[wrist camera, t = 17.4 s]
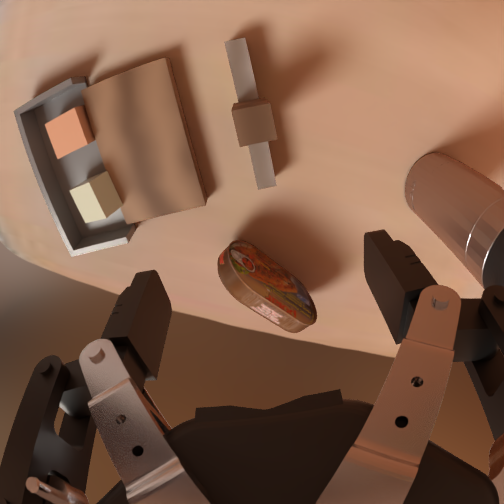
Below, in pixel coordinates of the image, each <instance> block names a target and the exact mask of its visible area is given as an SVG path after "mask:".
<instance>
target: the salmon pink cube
mask: <svg viewBox="0 0 504 504" xmlns="http://www.w3.org/2000/svg"><path fill="white" fill-rule="evenodd" d="M45 127H46V130H47V132H48V135H49V138H50V140H51V143H52V146H53V148H54V151H55V154H56V156H57V159H59V158H61V157H63V156H65V155H67V154H69V153H71V152H73V151H75V150H77V149H79V148H81V147H83V146H85V145H88V144H89V143H91V142H93V141H95V140H96V139H95V136H94V133H93V130H92V127H91V124H90V120H89V117H88V114H87V110H86V107H85V105H82V106H78V107H75V108H73V109H71V110H69V111H67V112H65V113H64V114H62V115H60V116H58V117H57V118H55V119H53V120H51V121H50V122H48V123H46V124H45Z"/></svg>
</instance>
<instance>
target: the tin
mask: <svg viewBox="0 0 504 504" xmlns="http://www.w3.org/2000/svg"><path fill="white" fill-rule="evenodd" d="M218 274H219V277H220V279H221V281H222V283H223V285H224V286H225V288H226V289H227V290H228V291H229V293H230V294H231V295H232V296H233V297H234V298H235V299H236V300H238V301H239V302H241V303H242V304H244V305H245V306H247V307H248V308H250V309H251V310H253V311H254V312H256V313H258V314H259V315H261V316H263V317H264V318H266V319H267V320H269V321H271V322H272V323H274V324H275V325H277V326H279V327H280V328H282V329H284V330H286V331H288V332H291V333H297V332H300V331H302V330H304V329H305V328H307V327H308V326H310V325H312V324H314V323H315V322H316V319H317V311H316V308H315V305H314V302H313V300H312V298H311V296H310V295H309V293H308V291H307V290H306V288H305V287H304V286H303V285H302V284H301V282H300V281H299V280H297V279H296V278H295V277H294V276H293V275H291V274H290V273H289V272H288V271H286V270H285V269H283V268H282V267H281V266H280V265H278V264H277V263H276V262H274V261H273V260H272V259H270V258H269V257H268V256H266V255H265V254H264V253H262V252H261V251H260V250H258V249H257V248H256V247H254V246H253V245H251V244H249V243H247V242H245V241H241V240H235V241H233V242H231V243H230V245H229V246H228V247H227V248H226V249H225V250H224V251H223V252H222V253H221V255H220V256H219V258H218Z"/></svg>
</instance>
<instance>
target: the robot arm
mask: <svg viewBox="0 0 504 504" xmlns="http://www.w3.org/2000/svg"><path fill="white" fill-rule="evenodd" d="M405 196H406V200H407V203H408V205H409V207H410V208H411V209H412V210H413V212H414V213H415V214H416V215H417V216H418V217H419V218H420V219H421V220H422V221H423V222H424V223H425V224H426V225H427V226H428V227H429V228H430V229H431V230H432V231H433V232H434V233H435V234H436V235H437V236H438V237H439V238H440V239H441V240H442V241H443V242H444V244H445V245H446V246H447V247H448V248H449V249H450V250H451V251H452V252H453V253H454V254H455V256H456V257H457V258H458V259H459V260H460V261H461V262H462V263H463V265H464V266H465V267H466V268H467V269H468V270H469V272H470V273H471V274H472V275H473V276H474V277H475V278H476V280H477V281H478V282H479V283H480V284H481V286H482V287H483V288H484V289H485V290H484V291H483V294H482V298H481V299H463V298H460V296H459V295H458V294H457V292H456V291H454V290H453V289H451V288H449V287H447V286H443V285H438V284H437V282H436V281H435V279H434V278H433V277H432V275H431V274H430V273H429V271H428V270H427V269H426V267H425V266H424V265H423V263H421V261H420V259H419V258H418V257H417V256H416V254H415V253H414V252H413V250H412V249H411V248H410V246H408V245H406V244H405V243H403V242H401V241H400V240H396V241H393V240H392V239H391V237H390V236H389V235H388V233H387V232H386V231H385V230H378V231H372V232H367V233H365V235H364V273H365V278H366V281H367V283H368V285H369V288H370V290H371V292H372V294H373V296H374V298H375V300H376V302H377V304H378V306H379V308H380V310H381V312H382V315H383V317H384V319H385V321H386V323H387V325H388V328H389V330H390V332H391V334H392V336H393V339H394V341H395V343H396V344H400V343H401V345H400V348H399V350H398V353H397V355H396V358H395V360H394V363H393V365H392V367H391V370H390V372H389V374H388V377H387V379H386V381H385V384H384V386H383V388H382V390H381V392H380V394H379V397H378V399H377V401H376V403H375V405H373V404H370V403H366V402H363V401H359V400H352V399H342V395H341V392H340V389H339V390H334V391H329V392H324V393H318V394H313V395H308V396H303V397H301V398H298V399H295V400H293V401H291V402H288V403H285V404H282V405H280V406H277V407H274V408H271V409H267V410H262V409H252V408H245V407H237V406H219V407H204V408H196V413H195V418H193V419H191V420H188V421H186V422H183V423H181V424H179V425H177V426H176V427H174V428H173V429H172V428H171V427H170V426H169V424H168V423H167V422H166V420H165V419H164V417H163V415H162V414H161V412H160V411H159V410H158V408H157V406H156V405H155V403H154V402H153V400H152V399H151V397H150V395H149V394H148V392H147V391H146V389H145V388H144V383H145V380H157V376H158V371H159V366H160V361H161V357H162V353H163V348H164V344H165V340H166V335H167V331H168V327H169V323H170V318H171V314H172V308H171V303H170V300H169V297H168V295H167V293H166V291H165V288H164V286H163V284H162V281H161V279H160V277H159V275H158V273H157V271H156V270H150V271H144V272H139V273H136V275H135V277H134V279H133V281H132V283H131V286H130V287H127V288H126V289H125V290H124V291H123V292H122V293H121V294H120V296H119V297H118V300H117V302H116V304H115V307H114V308H113V311H112V315H110V318H109V320H108V322H107V325H106V327H105V329H104V332H103V334H102V337H101V339H99V340H96V341H93V342H91V343H90V344H88V345H87V346H86V347H85V349H84V350H83V351H82V352H81V354H80V358H79V359H78V360H75V361H72V362H69V363H66V364H64V363H63V362H62V361H61V359H60V358H59V357H57V356H55V355H52V356H48V357H45V358H44V359H42V360H41V361H40V362H39V363H38V364H37V366H36V367H35V369H34V371H33V374H32V376H31V378H30V381H29V383H28V386H27V388H26V390H25V393H24V396H23V399H22V401H21V404H20V406H19V409H18V412H17V415H16V417H15V420H14V423H13V426H12V429H11V432H10V435H9V439H8V442H7V445H6V448H5V452H4V455H3V459H2V462H1V466H0V504H89V502H88V499H87V497H86V495H85V490H86V483H87V476H88V470H89V465H90V459H91V454H92V448H93V443H94V438H95V433H96V429H98V431H99V434H100V436H101V438H102V440H103V443H104V445H105V447H106V449H107V451H108V454H109V456H110V458H111V460H112V462H113V464H114V466H115V468H116V470H117V472H118V474H119V476H120V478H121V480H120V481H119V482H118V483H117V484H116V485H115V486H114V487H113V488H112V489H111V490H110V491H109V492H108V493H107V494H106V495H105V496H104V497H103V498H102V499H101V500H100V501H99V502H98V503H97V504H504V356H503V355H504V190H503V189H502V187H501V186H499V185H498V184H496V183H495V182H493V181H492V180H490V179H488V178H487V177H485V176H484V175H482V174H480V173H479V172H477V171H475V170H474V169H472V168H470V167H469V166H467V165H465V164H463V163H462V162H460V161H456V160H454V159H452V158H451V157H449V156H447V155H445V154H442V153H431V154H428V155H425V156H424V157H422V158H420V159H419V160H418V161H417V162H416V163H415V164H414V166H413V167H412V168H411V170H410V172H409V174H408V176H407V180H406V185H405ZM499 348H500V349H499ZM500 350H501V351H500ZM501 352H502V353H501ZM461 361H462V362H464V364H465V366H466V368H467V370H468V373H469V375H470V377H471V380H472V382H473V384H474V387H475V389H476V391H477V394H478V396H479V399H480V401H481V404H482V406H483V409H484V412H485V414H486V417H487V420H488V422H489V425H490V428H491V431H492V434H493V437H494V440H495V442H494V443H493V444H492V446H491V449H490V452H489V468H490V470H489V475H488V476H487V475H486V474H484V473H483V472H481V471H480V470H478V469H476V468H474V467H472V466H471V465H469V464H468V463H466V462H464V461H463V460H461V459H459V458H458V457H456V456H454V455H453V454H451V453H449V452H448V451H446V450H444V449H443V448H441V447H440V446H438V445H436V444H435V443H433V442H432V441H430V440H429V438H430V435H431V432H432V430H433V427H434V424H435V421H436V418H437V415H438V412H439V409H440V405H441V402H442V399H443V396H444V392H445V389H446V385H447V381H448V377H449V374H450V369H451V366H452V362H461ZM59 407H61V408H62V409H63V410H64V411H65V414H64V417H63V421H62V424H61V428H60V432H59V436H58V435H57V434H56V432H55V429H54V421H55V418H56V414H57V411H58V408H59Z"/></svg>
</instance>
